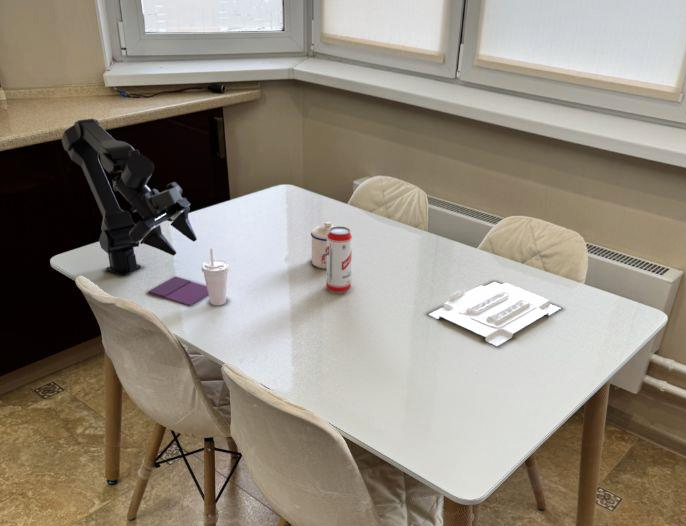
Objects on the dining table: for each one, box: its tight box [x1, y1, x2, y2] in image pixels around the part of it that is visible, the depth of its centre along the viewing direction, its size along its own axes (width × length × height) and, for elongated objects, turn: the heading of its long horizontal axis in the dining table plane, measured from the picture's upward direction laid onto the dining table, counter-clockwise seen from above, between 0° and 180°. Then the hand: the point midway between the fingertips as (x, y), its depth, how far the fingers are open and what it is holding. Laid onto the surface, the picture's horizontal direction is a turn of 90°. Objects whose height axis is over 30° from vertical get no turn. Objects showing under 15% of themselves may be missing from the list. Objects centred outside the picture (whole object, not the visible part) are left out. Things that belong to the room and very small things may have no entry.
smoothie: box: [201, 247, 230, 306], centre depth 166 cm, size 6×6×14 cm
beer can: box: [325, 225, 353, 294], centre depth 174 cm, size 6×6×16 cm
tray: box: [428, 281, 562, 347], centre depth 170 cm, size 20×28×4 cm
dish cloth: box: [148, 276, 209, 306], centre depth 173 cm, size 13×10×1 cm
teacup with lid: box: [310, 221, 336, 270], centre depth 189 cm, size 12×9×12 cm
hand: (185, 247), depth 164 cm, fingers open, 9 cm apart
